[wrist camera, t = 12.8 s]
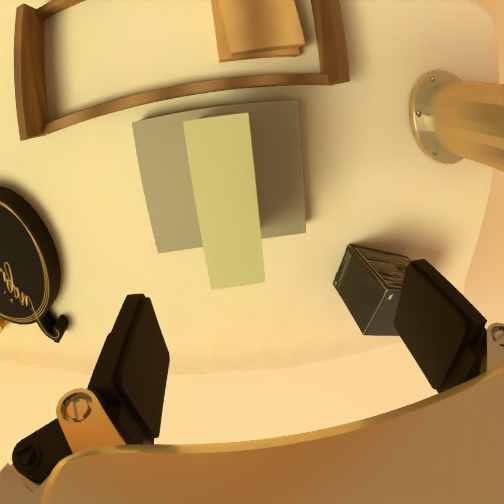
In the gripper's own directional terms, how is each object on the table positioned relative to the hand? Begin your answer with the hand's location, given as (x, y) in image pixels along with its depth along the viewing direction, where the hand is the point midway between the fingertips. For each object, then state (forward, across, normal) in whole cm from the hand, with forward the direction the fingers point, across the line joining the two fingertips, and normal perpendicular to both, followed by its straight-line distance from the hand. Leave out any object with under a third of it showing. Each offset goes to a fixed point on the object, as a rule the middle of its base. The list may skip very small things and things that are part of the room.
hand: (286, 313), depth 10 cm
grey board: (+23, +2, 0) cm, 23 cm away
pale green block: (+20, +2, 0) cm, 21 cm away
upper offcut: (+22, -3, -18) cm, 28 cm away
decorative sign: (+23, +37, +6) cm, 44 cm away
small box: (+24, -16, +14) cm, 32 cm away
